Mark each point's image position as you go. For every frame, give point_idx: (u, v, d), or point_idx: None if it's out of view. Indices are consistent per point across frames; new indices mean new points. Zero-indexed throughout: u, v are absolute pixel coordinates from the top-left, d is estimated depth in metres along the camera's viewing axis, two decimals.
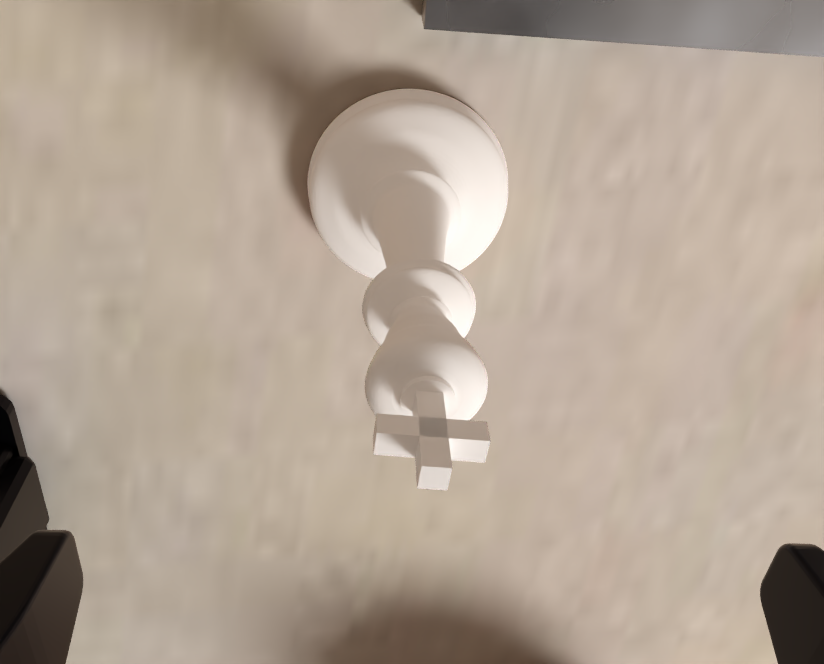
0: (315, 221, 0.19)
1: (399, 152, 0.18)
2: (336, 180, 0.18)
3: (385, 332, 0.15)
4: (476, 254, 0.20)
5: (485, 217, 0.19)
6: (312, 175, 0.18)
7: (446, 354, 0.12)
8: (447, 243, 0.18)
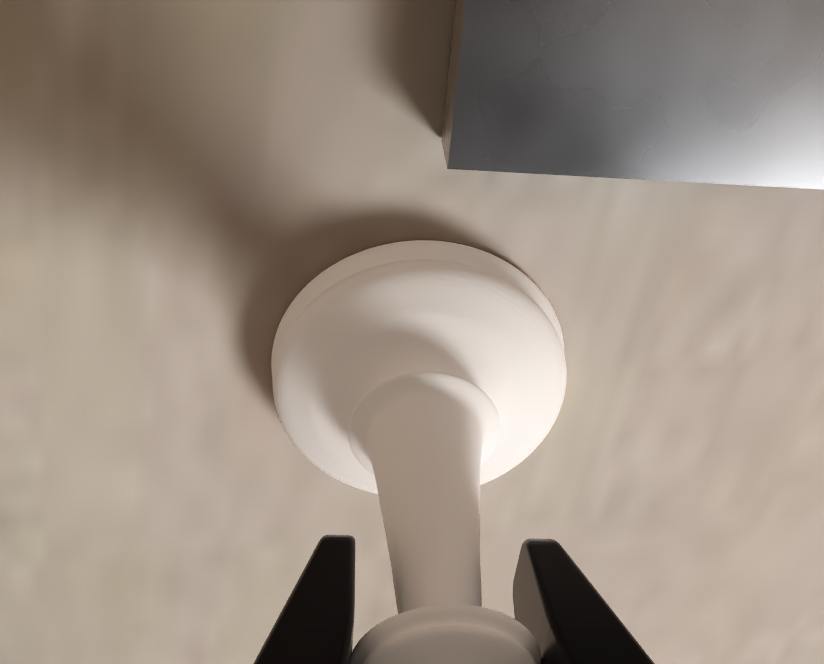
0: (282, 423, 0.13)
1: (407, 340, 0.12)
2: (312, 376, 0.12)
3: None
4: (517, 461, 0.13)
5: (533, 419, 0.13)
6: (276, 365, 0.12)
7: None
8: None
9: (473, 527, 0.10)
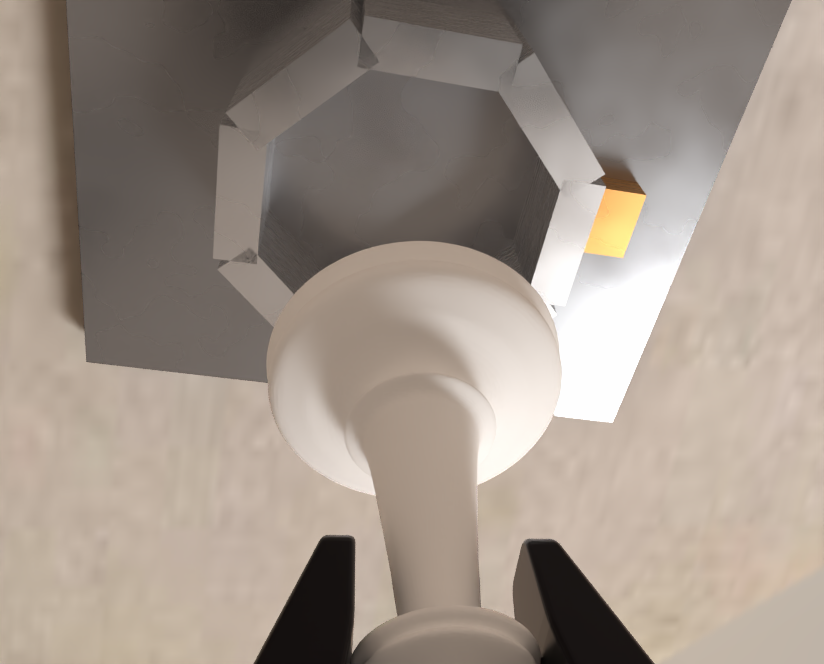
0: (278, 425, 0.13)
1: (403, 341, 0.12)
2: (308, 377, 0.12)
3: None
4: (513, 461, 0.13)
5: (528, 420, 0.13)
6: (272, 366, 0.12)
7: None
8: None
9: (471, 528, 0.10)
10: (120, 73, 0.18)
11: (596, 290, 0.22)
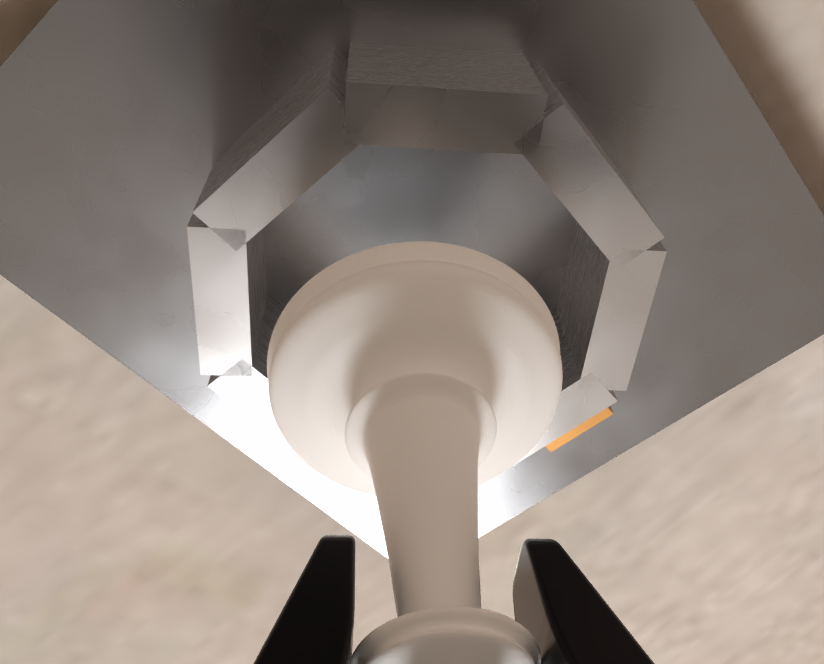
0: (278, 425, 0.13)
1: (403, 341, 0.12)
2: (308, 379, 0.12)
3: None
4: (514, 462, 0.13)
5: (528, 420, 0.13)
6: (272, 367, 0.12)
7: None
8: None
9: (472, 528, 0.10)
10: None
11: None
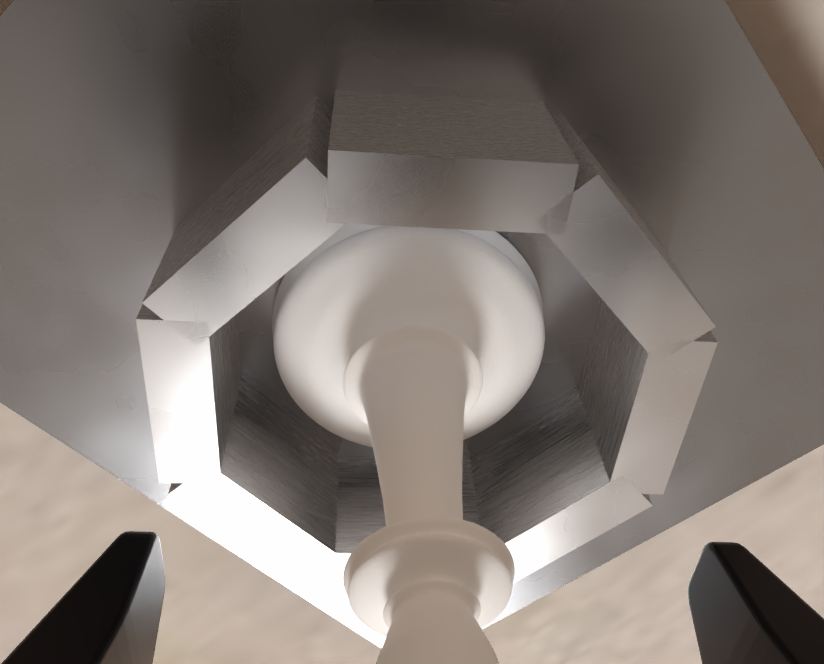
0: (283, 380, 0.14)
1: (395, 297, 0.13)
2: (309, 333, 0.13)
3: (379, 617, 0.10)
4: (502, 414, 0.14)
5: (513, 372, 0.14)
6: (276, 324, 0.13)
7: None
8: (464, 414, 0.13)
9: (455, 460, 0.11)
10: None
11: None
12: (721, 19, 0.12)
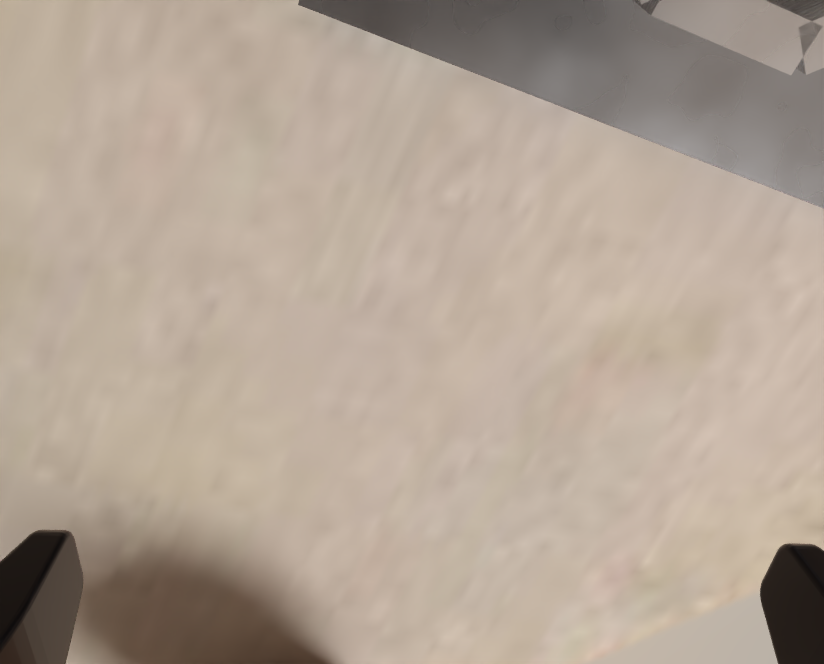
0: None
1: None
2: None
3: None
4: None
5: None
6: None
7: None
8: None
9: None
10: None
11: None
12: None
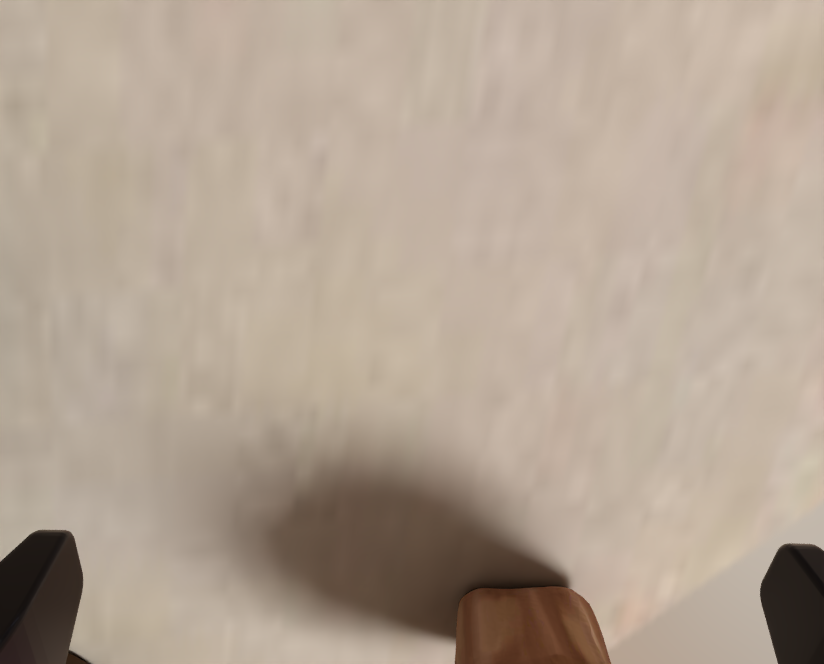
0: None
1: None
2: None
3: None
4: None
5: None
6: None
7: None
8: None
9: None
10: None
11: None
12: None
